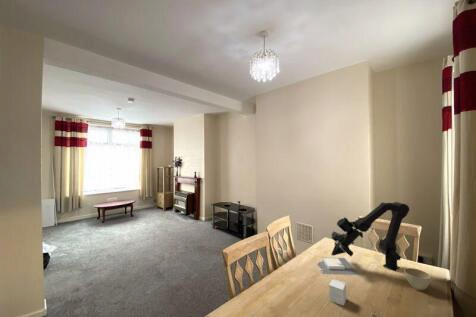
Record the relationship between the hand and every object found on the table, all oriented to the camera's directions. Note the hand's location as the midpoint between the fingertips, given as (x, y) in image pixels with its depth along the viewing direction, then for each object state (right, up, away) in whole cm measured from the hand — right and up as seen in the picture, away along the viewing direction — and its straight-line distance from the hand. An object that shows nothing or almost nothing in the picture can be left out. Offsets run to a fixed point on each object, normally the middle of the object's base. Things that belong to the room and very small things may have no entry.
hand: (332, 254), depth 124 cm
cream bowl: (+33, -6, -23) cm, 40 cm away
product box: (-11, -7, -30) cm, 33 cm away
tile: (+5, -5, -1) cm, 7 cm away
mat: (+1, -7, 0) cm, 7 cm away
